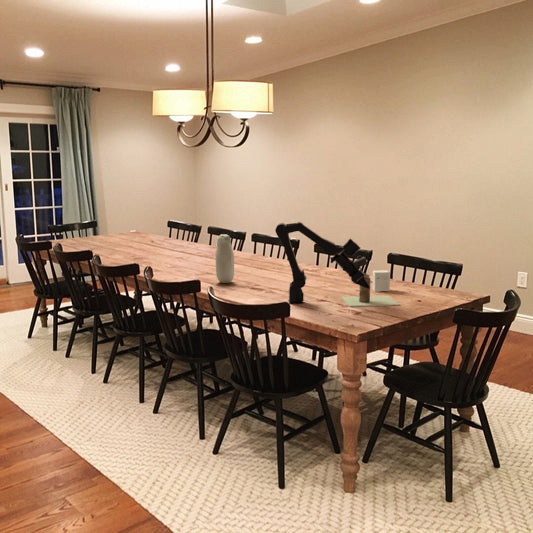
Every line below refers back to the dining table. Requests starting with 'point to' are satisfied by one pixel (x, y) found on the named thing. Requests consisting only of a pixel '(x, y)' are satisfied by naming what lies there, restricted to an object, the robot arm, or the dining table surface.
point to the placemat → (373, 301)
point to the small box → (381, 280)
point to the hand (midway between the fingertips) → (368, 285)
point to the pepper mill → (365, 291)
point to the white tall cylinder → (224, 259)
